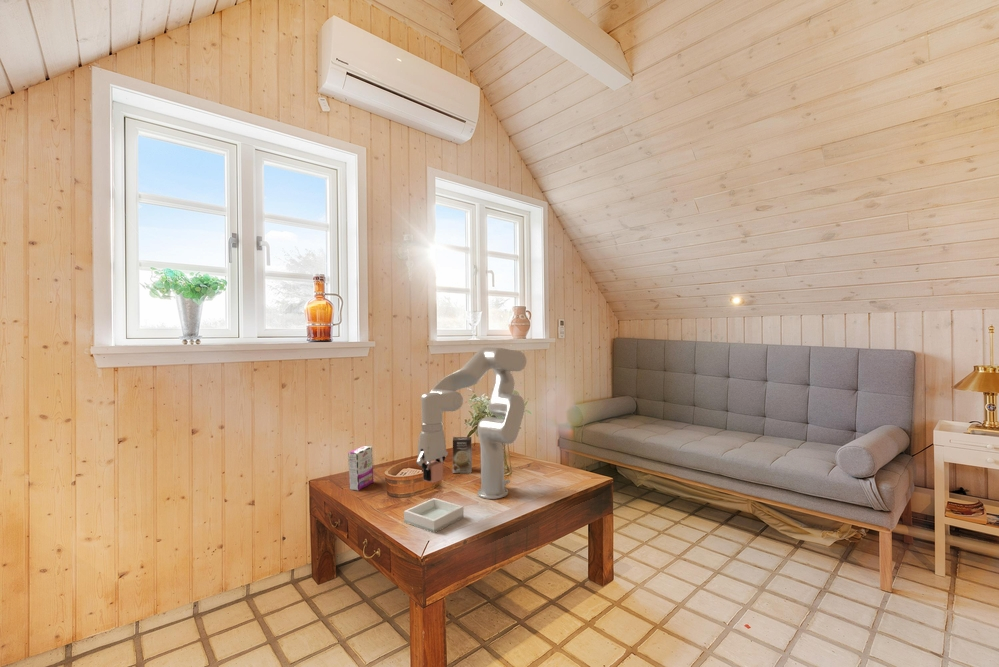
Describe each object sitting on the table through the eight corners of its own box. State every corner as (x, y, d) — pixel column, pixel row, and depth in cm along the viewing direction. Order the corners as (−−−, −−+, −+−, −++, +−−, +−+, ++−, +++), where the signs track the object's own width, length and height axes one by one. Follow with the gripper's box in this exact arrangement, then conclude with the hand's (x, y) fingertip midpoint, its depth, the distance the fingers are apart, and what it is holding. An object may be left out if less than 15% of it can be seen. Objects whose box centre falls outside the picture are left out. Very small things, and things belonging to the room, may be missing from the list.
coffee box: (452, 474, 212) (451, 440, 212) (453, 469, 218) (452, 437, 218) (471, 473, 212) (471, 439, 212) (472, 469, 219) (471, 436, 218)
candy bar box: (364, 481, 204) (363, 445, 204) (373, 482, 202) (372, 446, 202) (348, 490, 193) (347, 452, 193) (358, 491, 191) (357, 452, 191)
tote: (434, 508, 171) (433, 497, 171) (463, 517, 162) (463, 506, 162) (404, 522, 159) (403, 511, 159) (434, 533, 150) (433, 521, 150)
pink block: (433, 476, 164) (432, 460, 164) (443, 479, 161) (442, 462, 161) (423, 480, 160) (422, 463, 160) (433, 483, 157) (432, 466, 157)
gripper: (441, 422, 170) (442, 470, 170) (406, 430, 156) (407, 482, 156) (456, 424, 165) (456, 473, 165) (421, 433, 151) (422, 486, 152)
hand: (432, 477), depth 161 cm, fingers closed on pink block, 5 cm apart
